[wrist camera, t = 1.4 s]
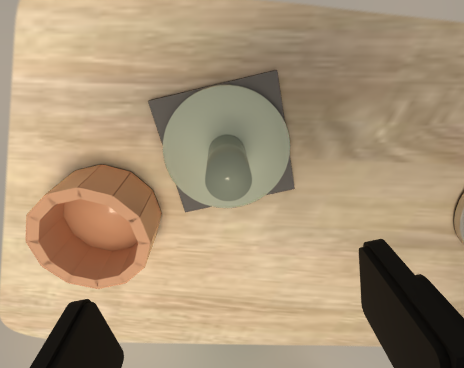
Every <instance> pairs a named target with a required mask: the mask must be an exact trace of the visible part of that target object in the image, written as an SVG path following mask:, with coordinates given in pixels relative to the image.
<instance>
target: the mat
mask: <svg viewBox="0 0 464 368" xmlns="http://www.w3.org/2000/svg"><path fill="white" fill-rule="evenodd" d="M225 84H230V85H238V86H242V87H246V88H249V89H251V90H253V91H255V92H257V93H259V94H261V95H262V96H263V97H265V98H266V99H267V100H268V101H269V102H270V103H271V104H272V105H273V106H274V107H275V108H276V109H277V110H278V112H279V113H280V115H281V116H282V118H283V120H284V113H283V107H282V100H281V93H280V86H279V79H278V73H277V70H274V71H270V72H266V73H262V74H257V75H253V76H249V77H245V78H241V79H237V80H232V81H228V82H224V83H220V84H216V85H225ZM212 86H215V85H212ZM207 87H210V86H207ZM207 87H203V88H199V89H195V90H191V91H187V92H183V93H178V94H174V95H170V96H166V97H162V98H158V99H153V100H149V101H148V103H149V106H150V109H151V112H152V115H153V118H154V121H155V124H156V127H157V130H158V133H159V136H160V139H161V142H162V145H163V139H164V133H165V130H166V127H167V124H168V122H169V120H170V118H171V116H172V115H173V113H174V112H175V110H176V109H177V108H178V107H179V106H180V105H181V103H182V102H183V101H185V100H186V99H187V98H188V97H189V96H191V95H192V94H194V93H195V92H197V91H200V90H202V89H204V88H207ZM284 122H285V120H284ZM176 186H177V185H176ZM177 189H178V192H179V195H180V198H181V201H182V204H183V207H184V210H185V212H189V211H194V210H199V209H203V208H208V207H212V206H208V205H205V204H202V203H200V202H198V201H196V200H194V199H192V198H191V197H189V196H188V195H186V194H185V193H184V192H183V191H182V190H181V189H180V188H179V187H178V186H177ZM292 189H295V188H294V181H293V174H292V168H291V161H290V155H289V160H288V164H287V167H286V170H285V172H284V174H283V176H282V177H281V179H280V180H279V182H278V183H277V184H276V186H275V187H274V188H273V189H272V190H271V191H270V192H269V193H267V194H266V195H268V194H273V193H278V192H282V191H287V190H292Z"/></svg>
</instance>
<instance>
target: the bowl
mask: <svg viewBox="0 0 464 368" xmlns="http://www.w3.org/2000/svg"><path fill="white" fill-rule="evenodd" d="M160 218H161V211H160V208H159V205H158V203H157V200H156V197H155V195H154V192H153V191H152V189H151V188H149V187H148V186H147V185H146V184H145V183H144V182H142V181H141V180H140V179H139V178H138V177H136V176H135V175H134V174H133V173H132V172H129V171H126V170H122V169H118V168H114V167H110V166H107V165H103V164H101V165H97V166H93V167H88V168H84V169H80V170H75V171H74V172H73V173H71V174H70V175H69V176H68V177H66V178H65V179H64V180H63V181H61V182H60V183H59V184H58V185H56V186H55V187H54V188H53V189H52V190H50V191H49V192H48V193H47V194H45V195H44V196H43V197H42V199H41V200H40V201H39V202H38V203H37V204H36V205H35V206H34V207H33V208H32V209H31V211H30V212H29V213H28V214H27V215H26V243H27V245H28V246H29V248H30V249H31V251H32V252H33V254H34V255H35V257H36V259H37V260H38V262H39V263H40V265H41V266H42V267H43V268H45V269H47V270H48V271H50V272H51V273H53V274H54V275H56V276H58V277H59V278H61V279H62V280H64V281H65V282H67V283H71V284H76V285H81V286H86V287H91V288H96V289H100V288H105V287H110V286H115V285H120V284H125V283H127V282H128V281H129V280H130V279H131V278H133V277H134V276H135V275H136V274H137V273H139V272H140V271H141V270H142V269H143V268H145V265H146V263H147V260H148V257H149V254H150V251H151V249H152V246H153V243H154V240H155V237H156V235H157V231H158V226H159V222H160Z"/></svg>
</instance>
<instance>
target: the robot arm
mask: <svg viewBox="0 0 464 368" xmlns="http://www.w3.org/2000/svg"><path fill="white" fill-rule="evenodd" d="M454 225H455V231H456V234H457V236H458V238H459V239H460V241H461V242H462V243H463V244H464V193H463V195H462V197H461V198H460V200H459V203H458V206H457V208H456V212H455V218H454ZM359 264H360V283H361V303H362V309H363V312H364V314H365V316H366V318H367V320H368V322H369V324H370V325H371V327H372V329H373V331H374V333H375V334H376V336H377V338H378V340H379V342H380V344H381V345H382V347H383V349H384V351H385V352H386V354H387V356H388V358H389V360H390V362H391V363H392V365H393V367H394V368H464V318H463V317H462V316H461V315H460V314H459V313H458V311H457V310H456V309H455V308H454V307H453V306H452V305H451V304H450V303H449V302H448V301H447V299H446V298H445V297H444V296H443V295H442V294H441V293H440V292H439V291H438V290H437V289H436V287H435V286H434V285H433V284H432V283H431V282H430V281H429V280H428V279H427V278H426V277H425V276H423V275H421V274H419V275H414V274H413V272H412V271H411V270H410V269H409V268H408V267H407V266H406V264H405V263H404V262H403V261H402V260H401V259H400V258H399V256H398V255H397V254H396V253H395V252H394V251H393V250H392V248H391V247H390V246H389V245H388V244H387V243H386V242H385V241H384V240H383V239H378V240H373V241H368V242H365V243H364V244H363V247H361V248H359ZM123 360H124V354H123V350H122V348H121V346H120V345H119V343H118V341H117V340H116V338H115V336H114V334H113V333H112V331H111V329H110V328H109V326H108V324H107V322H106V321H105V319H104V317H103V316H102V314H101V312H100V310H99V309H98V307H97V305H96V304H95V303H94V302H91V301H90V300H89V299H84V300H79V301H74V302H71V303H69V304H68V305H67V307H66V309H65V310H64V312H63V313H62V315H61V317H60V318H59V320H58V322H57V323H56V325H55V327H54V328H53V330H52V332H51V333H50V335H49V337H48V338H47V340H46V342H45V343H44V345H43V347H42V348H41V350H40V352H39V353H38V355H37V357H36V358H35V360H34V361H33V363H32V365H31V366H30V368H121V367H122V364H123Z"/></svg>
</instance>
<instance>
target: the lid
mask: <svg viewBox="0 0 464 368" xmlns="http://www.w3.org/2000/svg"><path fill="white" fill-rule="evenodd" d="M289 155H290V138H289V134H288V130H287V127H286V124H285V122H284V120H283V118H282V116H281V115H280V113H279V112H278V110H277V109H276V108H275V107H274V106H273V105H272V104H271V103H270V102H269V101H268V100H267V99H266V98H265V97H263V96H262V95H261V94H259V93H257V92H255V91H253V90H251V89H249V88H246V87H242V86H238V85H230V84H225V85H215V86H210V87H207V88H204V89H202V90H200V91H197V92H195V93H194V94H192V95H191V96H189V97H188V98H187V99H186V100H185V101H183V102H182V103H181V105H180V106H179V107H178V108H177V109H176V110H175V112H174V113H173V115H172V116H171V118H170V120H169V122H168V124H167V127H166V130H165V133H164V139H163V156H164V161H165V165H166V168H167V170H168V172H169V174H170V176H171V178H172V180H173V181H174V182H175V184H176V185H177V186H178V187H179V188H180V189H181V190H182V191H183V192H184V193H185V194H186V195H188V196H189V197H191V198H192V199H194V200H196V201H198V202H200V203H202V204H205V205H208V206H213V207H218V208H234V207H240V206H244V205H248V204H250V203H253V202H255V201H257V200H259V199H260V198H262V197H263V196H265V195H266V194H267V193H269V192H270V191H271V190H272V189H273V188H274V187H275V186H276V184H277V183H278V182H279V180H280V179H281V177H282V176H283V174H284V172H285V170H286V167H287V164H288V160H289Z"/></svg>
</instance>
